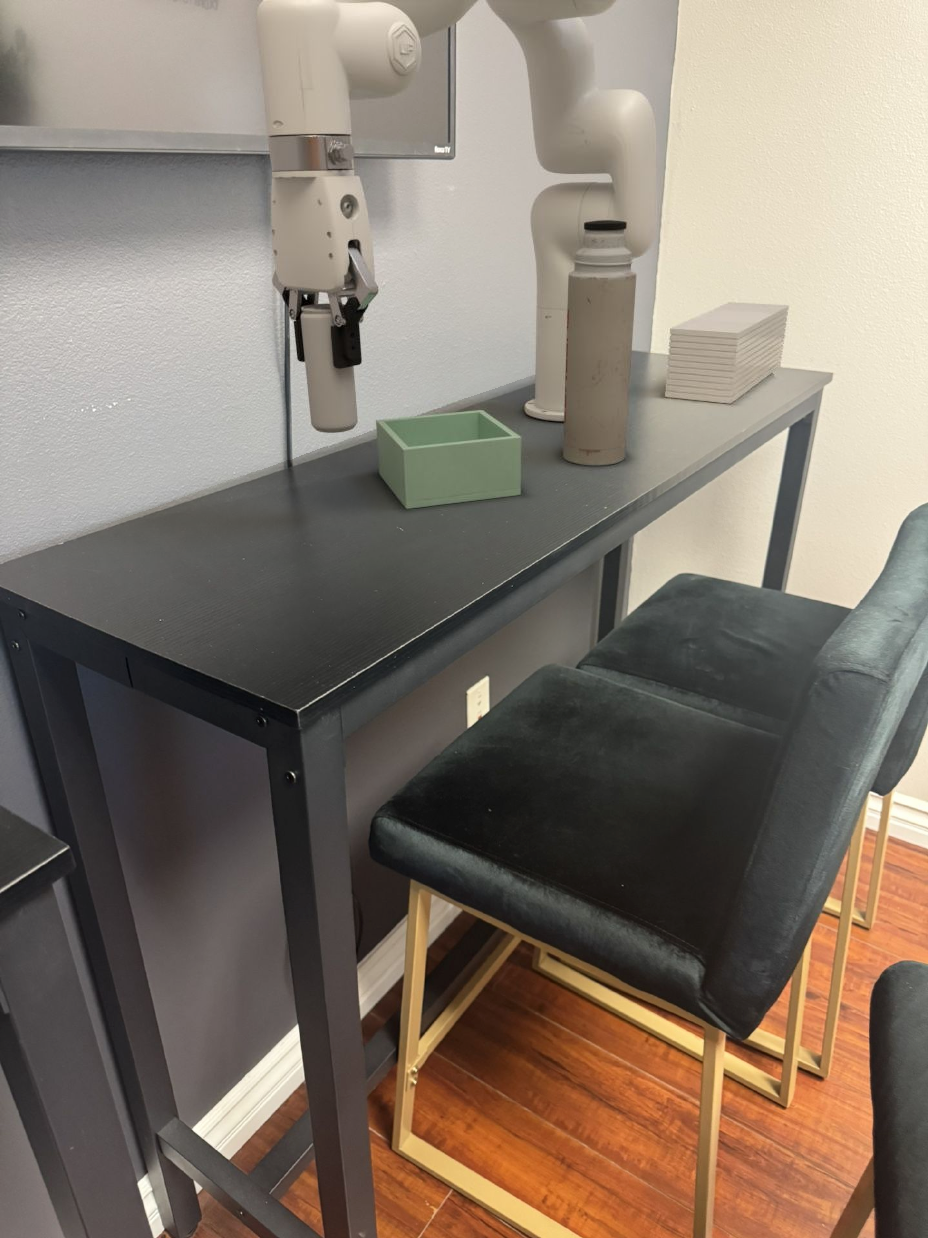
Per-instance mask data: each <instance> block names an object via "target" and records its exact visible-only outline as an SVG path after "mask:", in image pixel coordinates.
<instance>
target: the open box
mask: <svg viewBox="0 0 928 1238" xmlns="http://www.w3.org/2000/svg"><path fill="white" fill-rule="evenodd" d="M375 426H376V427H375V428H376V441H377V442H376V443H377V444H376V445H377V458H378V474H379V476H380V477H381V478H382V480H383V481H384V482H385V484H386V485H387V486H388V487H389V489H390V490H391V492H392V493H393V494H394V496H395V497H396V498H397V499H398V500H399V501H400V504H402V506H403V507H404V508H405V509H406V510H410V509H418V508H425V507H426V508H427V507H436V506H442V505H451V504H456V503H457V504H458V503H466V502H474V501H483V500H490V499H499V498H508V497H514V496H515V497H516V496H521V494H522V492H521V491H522V437H521V436H520V435H519V434H517V433H516V432H515V431H513V430H512V429H510V428H509V427H508V426H506V425H505V424H503V423H501V422H500V421H499V420H497V419H496V418H494V417H493V415H490V414H489V413H487V412H486V411H485V410H483V409H477V410H467V411H456V412H446V413H436V414H435V413H434V414H425V415H416V416H405V417H394V418H385V419H376V420H375Z"/></svg>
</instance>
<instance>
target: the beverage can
mask: <svg viewBox="0 0 928 1238" xmlns="http://www.w3.org/2000/svg"><path fill="white" fill-rule="evenodd" d="M342 304H343V307H344V306H345V304H346V303H342ZM301 310H302V311H303V313H302V314H301V326H302V336H303V346H304V356H305V362H304V364H305V376H306V385H307V395H308V404H309V414H310V424H311V426H312V427H313V428H314V430H315V431H317V432H319V433H325V434H335V433H336V434H337V433H344V432H348V431H351V430H353V429H354V428H355V427H356V426H357V424H358V422H359V421H358V420H359V419H358V408H357V407H358V406H357V394H356V393H357V392H356V379H355V366H351V367H347V368H342V369H338V368H335V367H334V365H333V354H332V342H331V326H335V325H336V324H335V322H334V318H333V314H332V310H331V306H330V303H318V304H313V305H306V306H303V307H301Z"/></svg>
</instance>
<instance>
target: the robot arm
mask: <svg viewBox="0 0 928 1238" xmlns="http://www.w3.org/2000/svg"><path fill="white" fill-rule="evenodd" d="M478 1H479V0H262V1H261V2H260V3H259V4H258V7H257V9H256V13H255V15H256V17H255V25H256V35H257V43H258V54H259V55H258V56H259V63H260V72H261V81H262V82H261V83H262V92H263V101H264V111H265V120H266V122H265V123H266V131H267V137H268V139H267V141H268V151H269V160H270V169H271V188H270V189H271V190H270V191H271V193H270V195H271V196H270V217H271V218H270V219H271V220H270V221H271V239H272V240H271V243H272V252H273V253H272V254H273V260H274V267H275V270H274V273H273V276H272V279H271V282H272V285H273V286H274V288H275V289H276V290H277V293H279V294H280V296H281V297H282V300H283V302H284V303H285V305H286V307H287V308H288V317H289V319H290V320H291V321H293V331H294V340H295V349H296V350H295V351H296V359H297V361H298V362H300V363H305V356H304V346H303V336H302V326H301V314H302V313H303V311H302V310H301V307H303V306H306V305H313V304H319V298H320V293H325V294H326V295H327V298H328V302H329V304H330V306H331V310H332V314H333V318H334V322H335V324H336V325H335V326H331V342H332V354H333V365H334V367H335V368H338V369H342V368H347V367H351V366H354V367H355V366H360V365H361V364H362V362H363V358H362V357H363V356H362V343H361V329H360V324H362V323H363V322H364V314H365V313H366V311H367V309H368V308H369V305H370V304H371V302H372V301H373V300H374V298H375V297H376V296H377V295H378V294H379V286H378V284H377V283H376V280H375V279H376V272H375V257H374V249H373V248H374V247H373V239H372V232H371V231H372V230H371V224H370V223H371V222H370V216H369V212H368V205H367V201H366V197H365V192H364V188H363V184H362V181H361V178H360V175H355V161H354V158H355V148H354V146H353V136H352V119H351V118H352V117H351V105H350V104H351V103H350V101H353V100H354V101H364V100H378V99H387V98H392V97H394V96H396V95H399V94H401V93H403V92H404V91H406V90H407V89H408V88H409V87H410V86H411V85H412V84H413V83H414V81H415V80H416V78H417V76H418V74H419V71H420V67H421V64H422V43H421V39H423V38H426V37H429V36H431V35H435V34H437V33H439V32H442V31H444V30H446V29H448V28H450V27H452V26H454V25H456V24H457V23H458V22H459V21H460V20H462V19H463V17H464V16H466V14H467V13H468V12H469V11H470V10H471V9H472V8H473V7H474V6H475V5H476V3H477V2H478ZM485 1H486V4H487V5H488V6H489V7H488V8H490V10H491V11H492V12H493V13H494V15H496V17H498V18H499V19H500V20H501V21H502V22H503V24H504V25H506V26H507V28H508V29H509V30H510V32H511V33H512V34H513V36H514V37H515V39H516V40H517V42H518V45H519V46H520V49H521V50H522V53H523V56H524V60H525V63H526V69H527V77H528V79H527V80H528V86H529V99H530V109H531V121H532V129H533V130H532V131H533V140H534V147H535V154H536V159H537V161H538V163H539V165H540V166H541V167H542V169H544V170H545V171H547V172H549V173H553V174H559V175H560V174H561V175H599V174H602V175H604V174H605V175H607V174H608V175H609V176H610V179H611V182H599V181H598V182H597V181H579V182H578V181H574V182H573V181H572V182H561V183H557V184H552V185H550V186H548V187H546V188H544V189H542V191H541V192H540V193H539V194H538V195H536V197H535V199H534V201H533V203H532V206H531V210H530V211H531V212H530V231H531V238H532V243H533V251H534V257H535V269H536V270H535V272H536V310H535V311H536V313H535V314H536V315H535V316H536V319H535V374H534V375H535V378H534V380H535V381H534V382H535V383H534V398H533V399H530V400H528V401H526V403H525V404H524V413H525V414H526V415H527V416H528V417H532V418H534V419H539V420H543V421H550V422H564V405H565V372H566V339H567V306H568V275H569V273H570V272H572V271H574V268H575V263H574V260H575V253H576V252H577V251H579V250H580V249H581V248H582V247H583V235H584V234H585V229H584V223H585V222H591V221H599V220H615V221H623V222H627V227H626V229H624V234H625V248H626V249H628V250H629V251H630V252H631V253H632V258H633V259H636V258H640V257H641V256H643V255H645V254H646V253H648V251H649V250H650V249H651V247H652V246H653V243H654V240H655V237H656V231H657V225H658V176H657V175H658V169H657V168H658V163H657V162H658V161H657V159H658V158H657V128H656V119H655V114H654V110H653V108H652V105H651V102H650V101H649V100H648V98H647V97H646V96H645V95H644V94H643V93H642V92H640V91H639V90H635V89H630V88H618V89H599V87H598V83H597V76H596V75H597V74H596V62H595V49H594V43H593V40H592V37H591V34H590V33H589V30H588V28H587V26H586V24H585V23H584V21H583V19H582V18H583V17H584V18H585V17H586V18H588V17H593V16H598V15H600V14H604V13H605V12H607V11H608V10H610V9H611V8H612V7H613V6H614V5H615V4H616V2H617V0H485ZM305 296H306V297H305ZM343 298H346V302H345V303H343V300H342V299H343ZM343 304H345V306H344V307H343Z"/></svg>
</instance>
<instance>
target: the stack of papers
mask: <svg viewBox="0 0 928 1238" xmlns="http://www.w3.org/2000/svg"><path fill="white" fill-rule="evenodd" d="M789 308H790V305H789V304H773V303H772V304H770V303H754V302H753V303H752V302H751V303H750V302H731V301H729V302H727V303H724V304H722V305H720V306H717V307H715V308H713V309H711V310H709V311H706V312H705V313H702V314H699V315H697V316H694V317H693V318H690V319H688V320H685V321H684V322H682V323H679V324H677V325H675V326H672V327H670V329H669V334H670V335H669V343H668V347H669V348H668V354H667V363H666V364H667V366H666V379H665V392H664V397H665V398H671V399H672V398H673V399H680V400H681V399H682V400H689V401H690V400H691V401H701V402H710V403H711V402H712V403H720V404H721V403H722V404H732V403H733V402H735V401H736V400H738V399H739V398H741V396H743V395H744V394H746V393H747V392H748V391H750V390H752V389H753V388H754V387H755V386H757V385H758V384H760V383H761V382H762V381H763V380H765V379H766V378H767V377H769V376H770V375H772V374H773V373H774V372H775V371H776V370H778V369H779V368H781V366H782V359H783V352H784V351H783V350H784V344H785V337H786V330H787V329H786V328H787V322H788V315H789V312H788V311H789Z"/></svg>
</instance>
